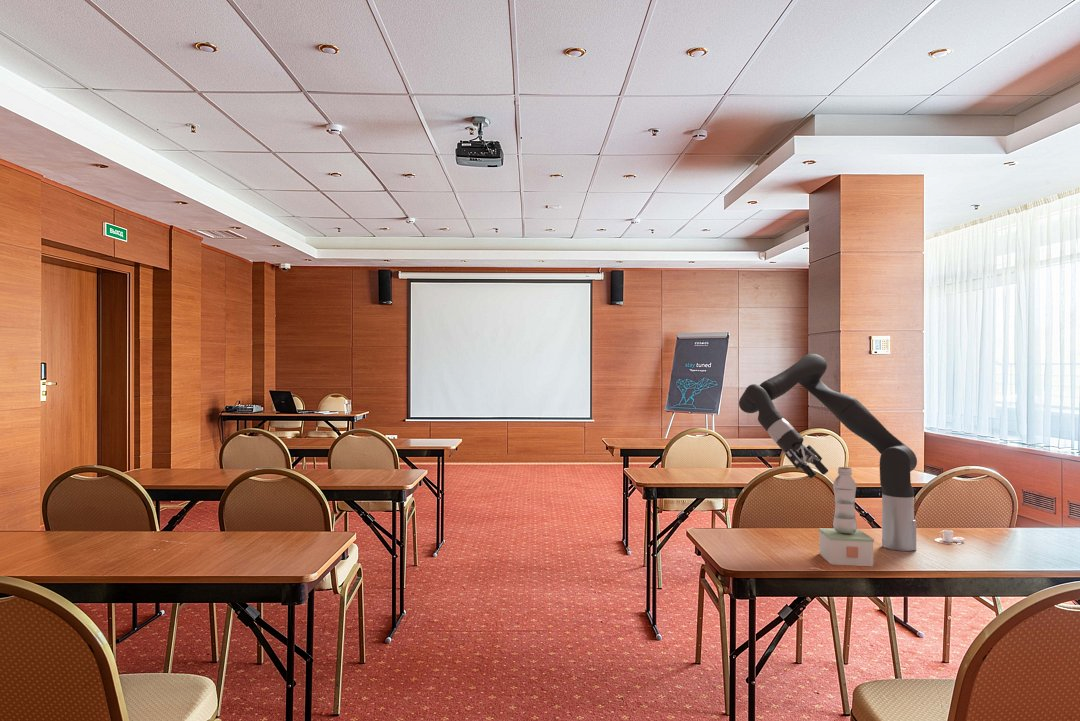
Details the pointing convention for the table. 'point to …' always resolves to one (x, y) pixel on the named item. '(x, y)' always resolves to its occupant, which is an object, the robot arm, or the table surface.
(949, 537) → the teacup and saucer
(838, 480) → the plastic bottle
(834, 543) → the raised stand
